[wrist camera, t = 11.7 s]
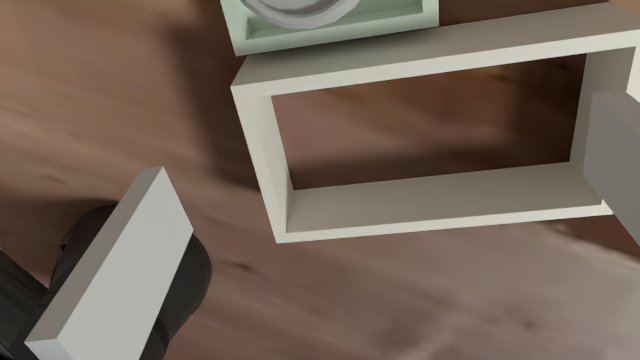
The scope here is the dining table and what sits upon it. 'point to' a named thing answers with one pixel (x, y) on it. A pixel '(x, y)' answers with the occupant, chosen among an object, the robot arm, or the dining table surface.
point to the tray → (327, 25)
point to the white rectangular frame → (427, 58)
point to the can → (300, 11)
